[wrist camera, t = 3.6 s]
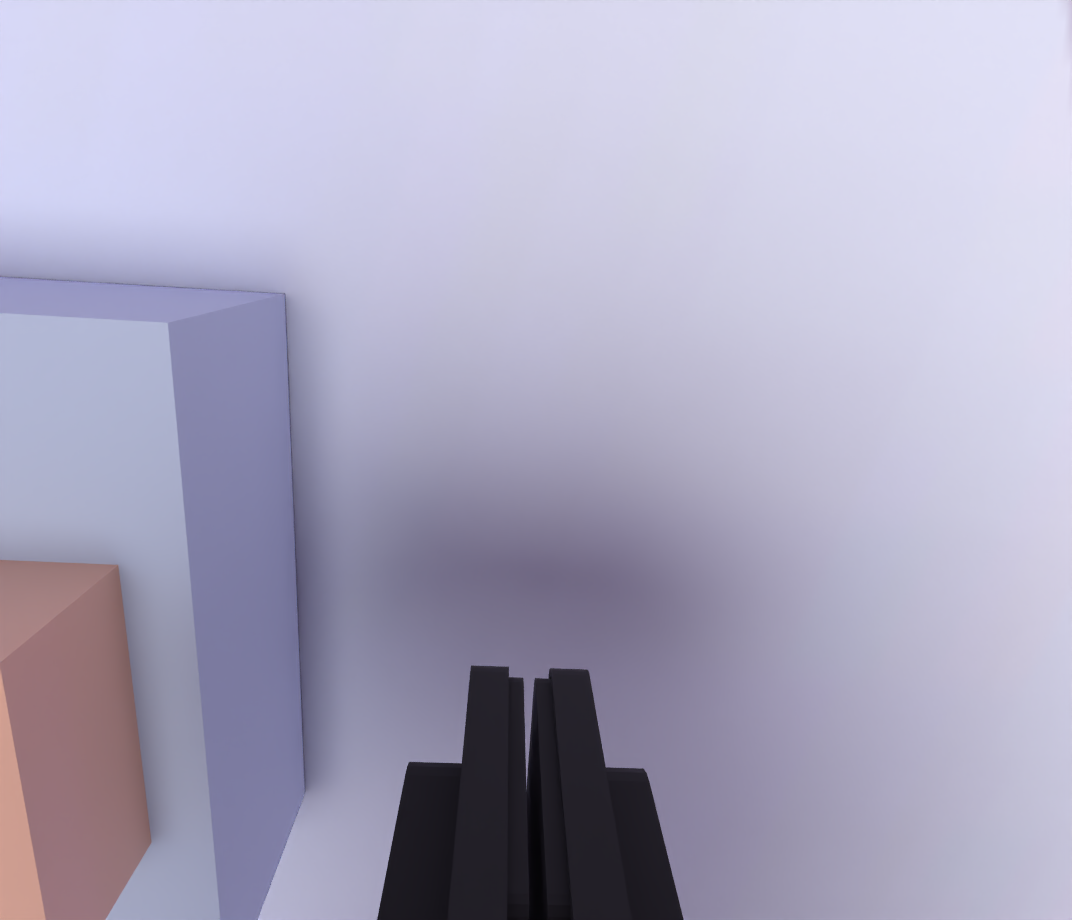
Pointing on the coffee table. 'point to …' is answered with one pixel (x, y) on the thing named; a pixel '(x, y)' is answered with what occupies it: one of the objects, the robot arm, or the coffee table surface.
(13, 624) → the tile
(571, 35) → the coffee table surface
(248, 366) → the board
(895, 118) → the coffee table surface
